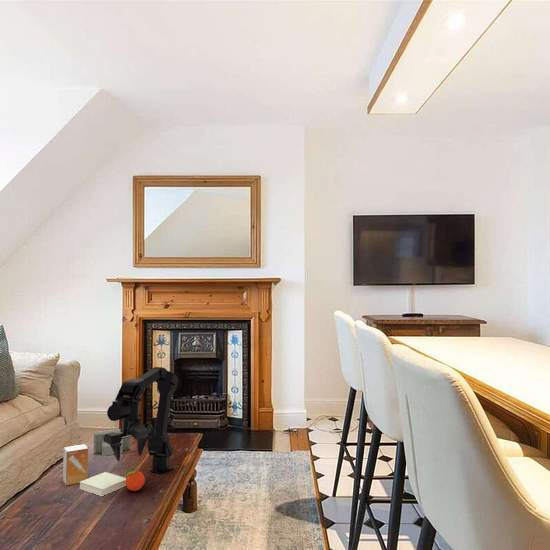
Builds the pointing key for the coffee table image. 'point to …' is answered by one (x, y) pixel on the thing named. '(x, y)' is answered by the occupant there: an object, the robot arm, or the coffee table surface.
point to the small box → (75, 464)
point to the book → (103, 483)
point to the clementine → (134, 480)
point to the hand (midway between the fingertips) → (129, 458)
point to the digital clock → (106, 448)
